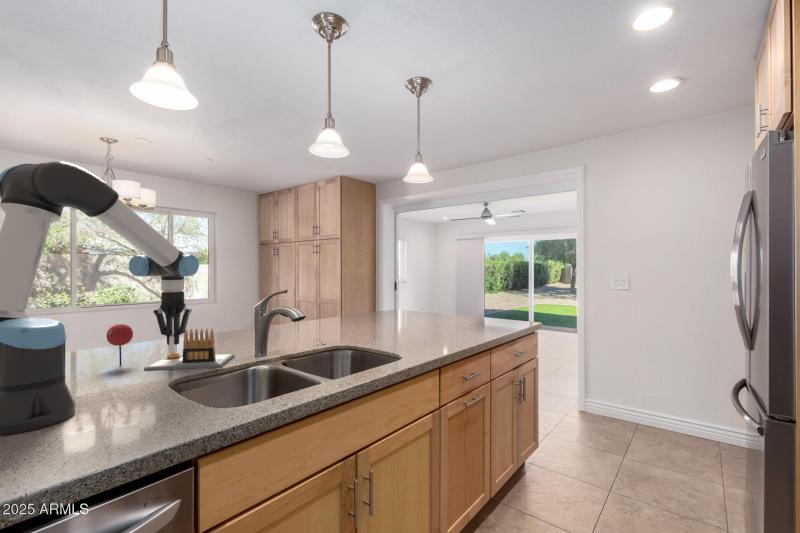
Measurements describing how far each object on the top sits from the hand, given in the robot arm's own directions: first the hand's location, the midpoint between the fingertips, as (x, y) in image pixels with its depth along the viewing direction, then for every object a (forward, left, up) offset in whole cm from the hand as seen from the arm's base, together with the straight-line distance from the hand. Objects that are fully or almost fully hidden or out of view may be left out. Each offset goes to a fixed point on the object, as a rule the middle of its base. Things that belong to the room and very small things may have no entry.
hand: (173, 353), depth 141 cm
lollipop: (-4, +16, -3) cm, 17 cm away
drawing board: (-4, -9, -3) cm, 10 cm away
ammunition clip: (-8, -12, -2) cm, 15 cm away
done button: (0, 0, -2) cm, 2 cm away
